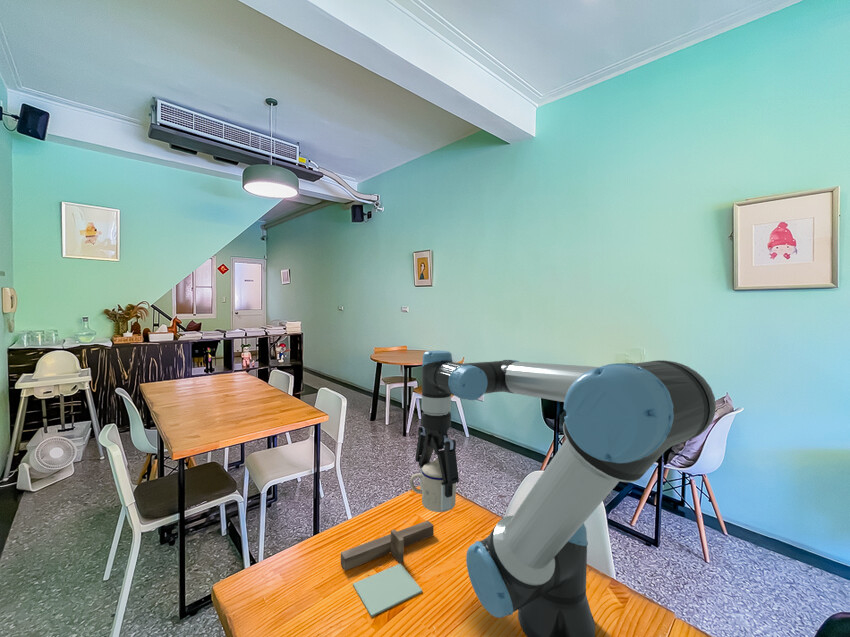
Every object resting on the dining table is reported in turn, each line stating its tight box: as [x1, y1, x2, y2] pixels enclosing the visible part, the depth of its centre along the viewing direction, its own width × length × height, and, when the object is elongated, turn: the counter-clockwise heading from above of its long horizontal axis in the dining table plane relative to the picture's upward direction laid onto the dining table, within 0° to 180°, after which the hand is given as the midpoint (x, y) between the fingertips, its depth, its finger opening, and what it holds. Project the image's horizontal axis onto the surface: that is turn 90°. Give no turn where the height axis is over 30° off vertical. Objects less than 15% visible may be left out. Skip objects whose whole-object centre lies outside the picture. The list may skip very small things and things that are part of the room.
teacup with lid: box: [409, 457, 457, 513], centre depth 91 cm, size 12×9×12 cm
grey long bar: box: [340, 520, 435, 572], centre depth 95 cm, size 8×27×6 cm, turn 123°
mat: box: [352, 563, 423, 618], centre depth 83 cm, size 10×13×1 cm
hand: (435, 499), depth 90 cm, fingers closed on teacup with lid, 9 cm apart
